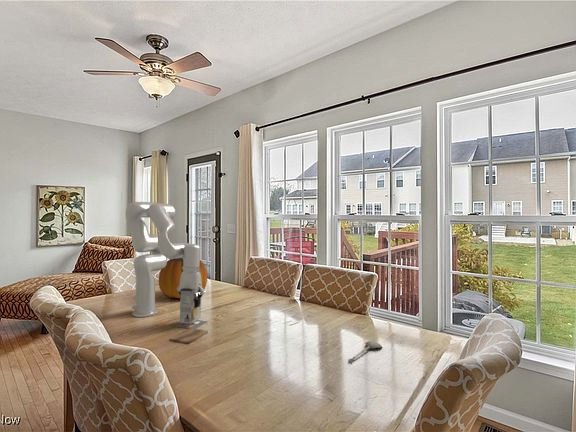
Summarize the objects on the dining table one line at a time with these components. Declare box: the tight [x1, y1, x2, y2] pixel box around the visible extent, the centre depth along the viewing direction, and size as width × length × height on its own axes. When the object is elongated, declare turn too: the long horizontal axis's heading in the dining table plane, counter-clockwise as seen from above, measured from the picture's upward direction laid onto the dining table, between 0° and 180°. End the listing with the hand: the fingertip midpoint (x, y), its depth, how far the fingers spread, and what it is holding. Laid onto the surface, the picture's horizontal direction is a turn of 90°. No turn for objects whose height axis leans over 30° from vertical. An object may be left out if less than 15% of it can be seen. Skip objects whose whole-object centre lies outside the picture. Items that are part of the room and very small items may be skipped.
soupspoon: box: [347, 340, 383, 364], centre depth 122 cm, size 22×3×7 cm
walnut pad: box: [169, 328, 209, 345], centre depth 137 cm, size 10×13×1 cm
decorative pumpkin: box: [158, 258, 208, 299], centre depth 204 cm, size 30×30×30 cm
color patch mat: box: [175, 319, 208, 329], centre depth 152 cm, size 11×11×1 cm
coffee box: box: [179, 288, 202, 324], centre depth 152 cm, size 9×6×16 cm
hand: (190, 305), depth 152 cm, fingers closed on coffee box, 7 cm apart
